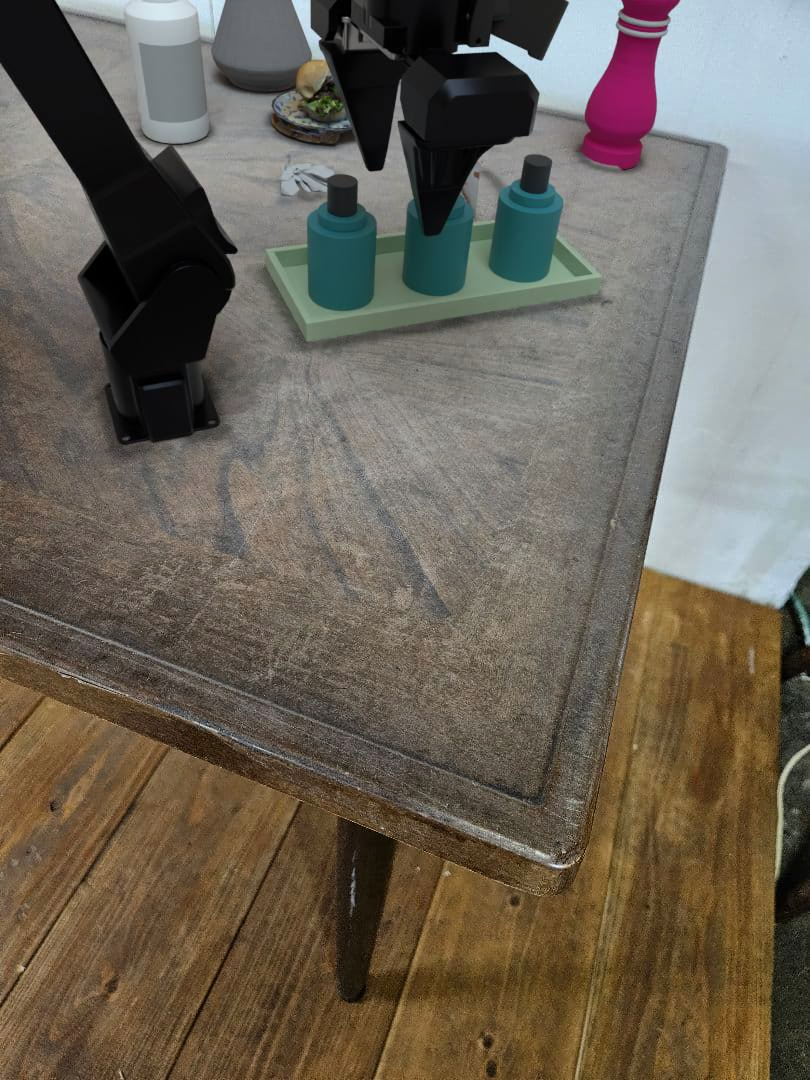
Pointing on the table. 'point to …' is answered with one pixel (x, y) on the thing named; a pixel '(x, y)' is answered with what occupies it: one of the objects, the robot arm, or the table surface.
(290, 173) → the flower
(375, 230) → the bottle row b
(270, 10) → the coffee pot
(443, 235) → the bottle loose
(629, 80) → the pepper mill
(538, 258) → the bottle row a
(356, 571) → the table surface
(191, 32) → the spray bottle
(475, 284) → the tray
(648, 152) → the table surface
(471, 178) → the kitchen knife
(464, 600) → the table surface
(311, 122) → the plate of food
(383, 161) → the robot arm
